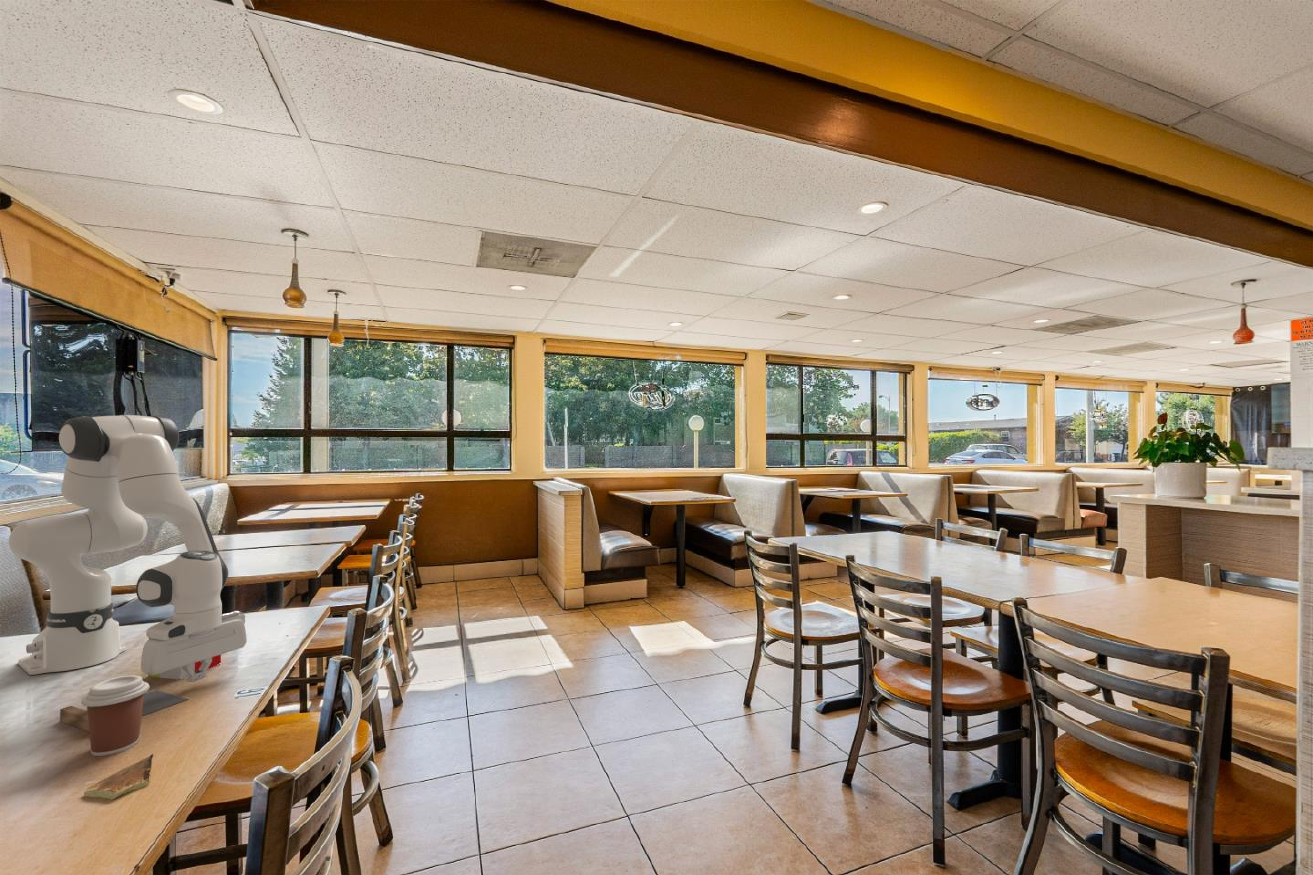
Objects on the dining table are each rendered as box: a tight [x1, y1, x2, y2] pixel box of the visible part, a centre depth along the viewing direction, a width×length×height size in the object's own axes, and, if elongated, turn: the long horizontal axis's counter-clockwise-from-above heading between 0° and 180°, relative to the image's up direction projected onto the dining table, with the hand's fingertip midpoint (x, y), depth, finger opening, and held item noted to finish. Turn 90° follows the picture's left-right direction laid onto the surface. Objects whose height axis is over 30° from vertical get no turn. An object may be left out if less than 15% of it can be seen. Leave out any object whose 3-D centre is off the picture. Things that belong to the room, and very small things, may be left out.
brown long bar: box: [59, 705, 89, 732], centre depth 112 cm, size 14×2×2 cm, turn 68°
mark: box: [142, 689, 189, 717], centre depth 120 cm, size 12×12×1 cm
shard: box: [83, 753, 154, 800], centre depth 94 cm, size 11×8×2 cm
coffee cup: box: [81, 674, 150, 757], centre depth 104 cm, size 9×9×12 cm
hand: (196, 679), depth 130 cm, fingers closed
